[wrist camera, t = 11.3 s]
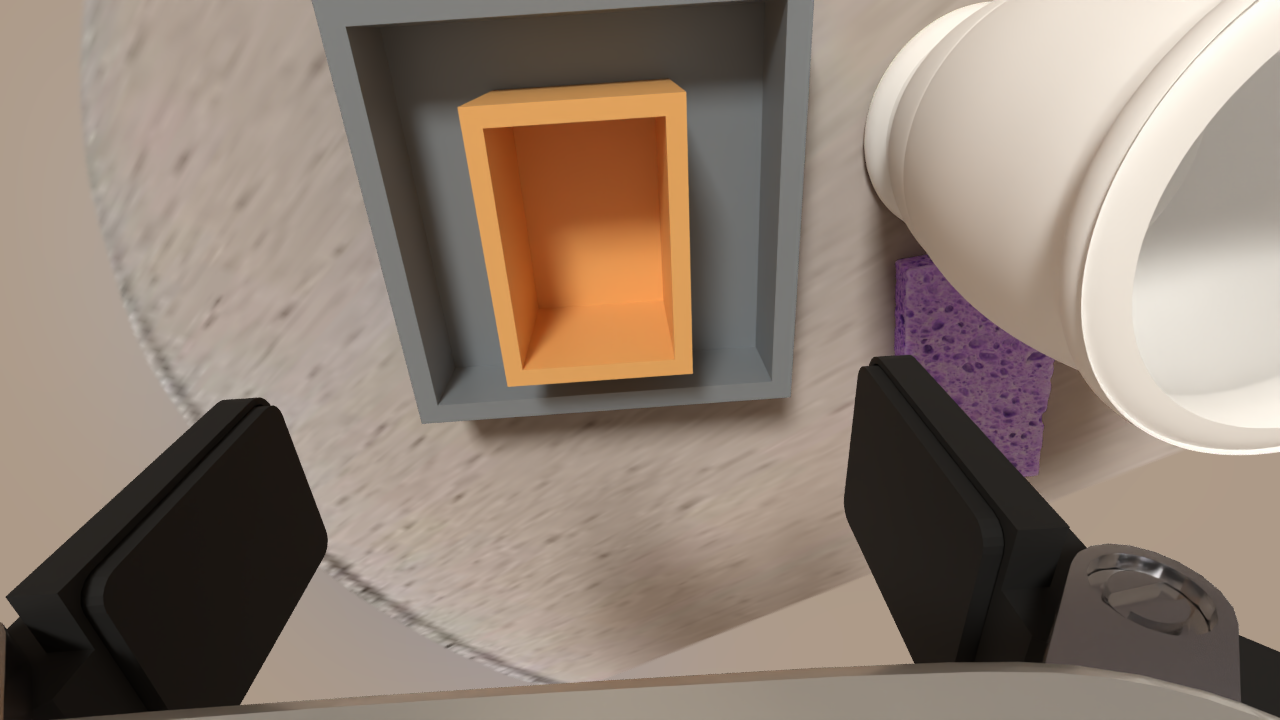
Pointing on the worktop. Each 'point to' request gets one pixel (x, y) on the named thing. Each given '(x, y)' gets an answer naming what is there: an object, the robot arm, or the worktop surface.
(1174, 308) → the jar
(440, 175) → the grey square tray
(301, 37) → the worktop surface
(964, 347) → the sponges
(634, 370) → the small crate
